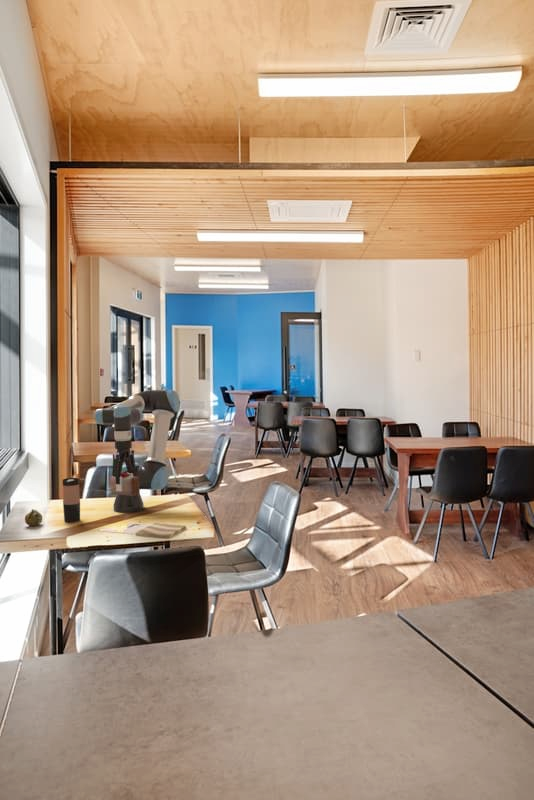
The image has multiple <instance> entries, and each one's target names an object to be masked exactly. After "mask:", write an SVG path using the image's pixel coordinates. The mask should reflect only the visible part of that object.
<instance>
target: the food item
mask: <svg viewBox="0 0 534 800" xmlns="http://www.w3.org/2000/svg"><path fill="white" fill-rule="evenodd" d="M120 477H122V491H116V477H113V476H112V475H111V476H110V477H109V487H110V495H128V496H134V495H137V494H139V493H140V492H141V491H140V490H141V489H139V477H136V476H129V474H128V472H127V473H122V474H121V476H120ZM140 494H141V493H140Z"/></svg>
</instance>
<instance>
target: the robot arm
mask: <svg viewBox="0 0 534 800" xmlns="http://www.w3.org/2000/svg"><path fill="white" fill-rule="evenodd" d="M180 407H181V403H180V398H179V394H178V393H177V391H175V390H173V389H148V390H143V391H141V392H138V393H135V394H133V395H131V396H129V398H128V399H125V400H124V401H122V402H119V403H117V404H114V405H112V406H109V407H107V408H98V409H96V410H95V412H94V421H95V422H96V424H98V425H103V426H104V425H114V426H113V428H114V435H113V436H114V440H115V441H114V448H115V449H116V453H113V454H112V474H111V477H112V476H113V477H116V491H122V477H120V476H121V474H122V473H127V472H128V474H129V476H136V477H139V489H140V490H149V491H150V490H152V491H158V490H159V491H160V490H163V489H165V487H167V484H168V482H169V478H170V470H169V468H168V467H167V463H166V462H165V456H166V449H167V444H168V438H169V431H170V425H171V419H172V418H174V417H175V413H177V412H179V410H180ZM144 412H152V415H153V417H154V418H153V424H152V429H151V434H150V441H149V446H148V452H147V458H146V459H145V460H144V461H143V465H142V466H140V464H139V463H138V462H136V460H135V450H134V449H133V450H131V449H132V447H133V444H132V443H133V441H132V426H133V425H137V424H139V423H141V422H142V421H143V419H144ZM144 507H145V506H144V502H143V498H142V496H141V493H139V494H137V495H134V496H128V495H117V494H115V499H114V502H113V511H114V512H118V513H133V512H138V511H141V510H143V509H144Z"/></svg>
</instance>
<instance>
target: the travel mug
mask: <svg viewBox="0 0 534 800" xmlns="http://www.w3.org/2000/svg"><path fill="white" fill-rule="evenodd" d="M80 492H81V491H80V479H79V478H78V477H69V478H68V477H66V478H63V479H62V505H63V519H64V523H69V524H70V523H77V522H79V521H81V496H80V495H81V493H80Z"/></svg>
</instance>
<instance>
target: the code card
mask: <svg viewBox="0 0 534 800" xmlns="http://www.w3.org/2000/svg"><path fill="white" fill-rule="evenodd" d="M126 522H127V527H126V528H127V529H124V531H123V532H121V533H119V532H117V530H112V529H111V530H110V529H109V528H107V529H106V527H103V528H101V529H98V532H107V533H115V534H116V533H119V534H128V535H134V534H136V532H138V531H140V530H142V529H144V528H146V527H148V526H150V525H152V524H151V523H150V524H149V523H139V522H138V523H137V522H128V521H126Z"/></svg>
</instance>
